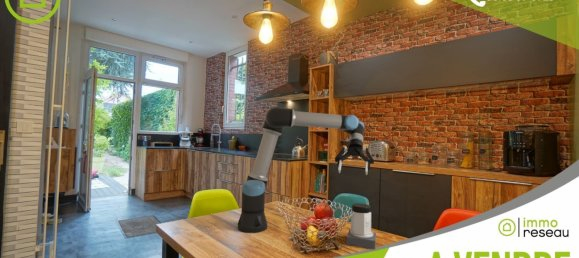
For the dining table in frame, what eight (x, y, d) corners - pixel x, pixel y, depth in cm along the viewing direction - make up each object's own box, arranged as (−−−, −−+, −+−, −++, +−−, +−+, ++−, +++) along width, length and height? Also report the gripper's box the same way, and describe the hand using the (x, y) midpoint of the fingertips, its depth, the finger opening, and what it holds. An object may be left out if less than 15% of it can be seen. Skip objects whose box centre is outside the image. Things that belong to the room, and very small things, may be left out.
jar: (360, 236, 116) (361, 208, 117) (347, 231, 123) (347, 204, 124) (374, 233, 121) (375, 206, 122) (360, 228, 128) (361, 202, 128)
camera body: (346, 244, 118) (346, 234, 119) (349, 236, 129) (349, 227, 129) (375, 249, 114) (375, 238, 115) (375, 240, 125) (376, 230, 125)
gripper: (379, 148, 151) (378, 178, 136) (334, 146, 159) (329, 175, 144) (379, 138, 146) (378, 169, 131) (333, 137, 154) (327, 166, 140)
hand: (352, 172), depth 138 cm, fingers open, 13 cm apart
